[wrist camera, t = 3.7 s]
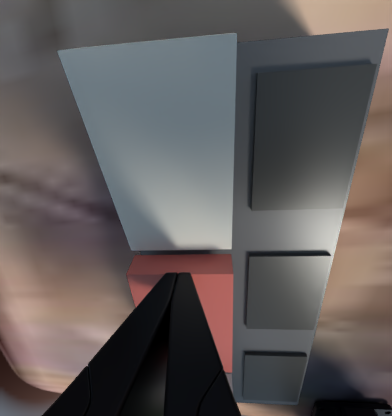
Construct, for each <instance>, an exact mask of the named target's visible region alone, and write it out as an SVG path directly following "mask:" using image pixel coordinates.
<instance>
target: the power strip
mask: <svg viewBox="0 0 392 416" xmlns="http://www.w3.org/2000/svg"><path fill="white" fill-rule="evenodd" d="M388 30H389V29H378V30H367V31H356V32H345V33H335V34H324V35H313V36H302V37H291V38H281V39H270V40H259V41H248V42H237V58H236V97H235V137H234V176H233V215H232V249H220V250H145V251H140V252H141V255H190V254H231V257H232V266H233V343H232V373H228V372H225V373H226V374H232V387H233V395H234V398H235V400H236V402H240V403H262V404H284V405H298V401H299V397H300V393H301V389H302V385H303V381H304V376H305V372H306V368H307V364H308V360H309V356H310V352H311V348H312V343H313V339H314V335H315V331H316V327H317V323H318V319H319V315H320V310H321V306H322V302H323V298H324V294H325V290H326V286H327V282H328V277H329V273H330V269H331V265H332V261H333V257H334V253H335V249H336V244H337V240H338V236H339V232H340V228H341V224H342V220H343V216H344V211H345V207H346V203H347V199H348V195H349V191H350V187H351V183H352V178H353V174H354V170H355V166H356V162H357V158H358V154H359V150H360V145H361V141H362V137H363V133H364V129H365V125H366V121H367V117H368V112H369V108H370V104H371V100H372V96H373V92H374V88H375V84H376V79H377V75H378V71H379V67H380V63H381V59H382V55H383V51H384V46H385V42H386V38H387V34H388Z"/></svg>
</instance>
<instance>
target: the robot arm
mask: <svg viewBox="0 0 392 416" xmlns="http://www.w3.org/2000/svg"><path fill="white" fill-rule="evenodd" d="M42 416H241V413H240V411H239V408H238V406H237V403H236V400H235V398H234V395H233V393H232V390H231V387H230V384H229V382H228V379H227V376H226V373H225V371H224V369H223V365H222V362H221V359H220V356H219V353H218V350H217V347H216V344H215V342H214V339H213V336H212V333H211V330H210V327H209V324H208V321H207V319H206V316H205V313H204V310H203V307H202V304H201V301H200V298H199V295H198V293H197V290H196V287H195V284H194V281H193V278H192V275H191V273H190V272H179V273H177V272H167V273H165V274H164V275H163V276H162V277H161V279H160V280H159V281H158V282H157V283H156V285H155V286H154V287H153V288H152V289H151V290H150V292H149V293H148V294H147V295H146V296H145V297H144V299H143V300H142V301H141V302H140V303H139V304H138V306H137V307H136V308H135V309H134V310H133V312H132V313H131V314H130V315H129V316H128V317H127V319H126V320H125V321H124V322H123V323H122V324H121V326H120V327H119V328H118V329H117V330H116V332H115V333H114V334H113V335H112V336H111V337H110V339H109V340H108V341H107V342H106V343H105V344H104V346H103V347H102V348H101V349H100V350H99V352H98V353H97V354H96V355H95V356H94V357H93V359H92V360H91V361H90V362H89V363H88V366H86V367H85V368H84V369H83V370H82V371H81V372H80V374H79V375H78V376H77V377H76V378H75V380H74V381H73V382H72V383H71V384H70V385H69V386H68V387H67V389H66V390H65V391H64V392H63V393H62V394H61V395H60V397H59V398H58V399H57V400H56V401H55V402H54V403H53V404H52V405H51V406H50V408H49V409H48V410H47V411H46V412H45V413H44V414H43V415H42ZM311 416H392V407H391V406H390V405H388V404H368V403H345V402H322V401H321V402H316V403H315V405H314V408H313V412H312V415H311Z"/></svg>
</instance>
